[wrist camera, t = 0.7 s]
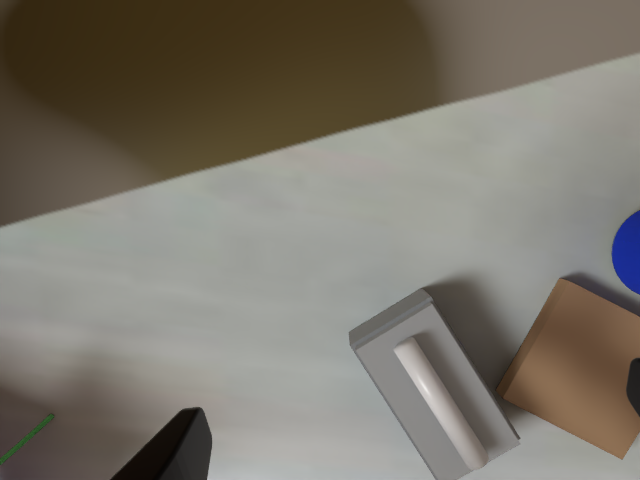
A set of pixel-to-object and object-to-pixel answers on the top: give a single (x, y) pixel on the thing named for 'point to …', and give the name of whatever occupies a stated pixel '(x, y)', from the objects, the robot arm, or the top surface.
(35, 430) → the lily
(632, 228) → the beverage can
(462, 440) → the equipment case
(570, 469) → the top surface
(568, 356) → the brown square slab
